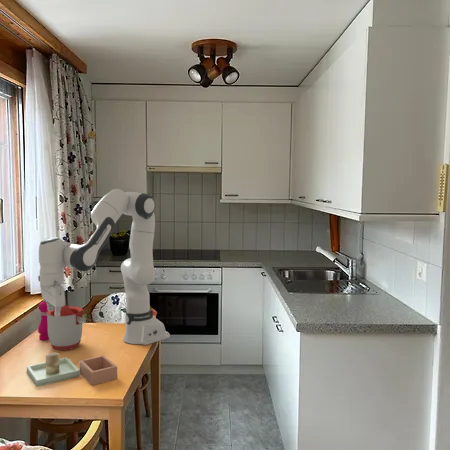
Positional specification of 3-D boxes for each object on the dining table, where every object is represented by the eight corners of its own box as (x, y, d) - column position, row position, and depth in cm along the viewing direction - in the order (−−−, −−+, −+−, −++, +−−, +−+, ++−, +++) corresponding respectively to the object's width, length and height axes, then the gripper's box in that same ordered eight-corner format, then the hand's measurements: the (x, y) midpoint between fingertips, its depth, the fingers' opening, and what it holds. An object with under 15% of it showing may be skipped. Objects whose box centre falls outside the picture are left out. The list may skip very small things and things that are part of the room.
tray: (67, 362, 191) (66, 357, 191) (79, 376, 178) (79, 370, 178) (26, 372, 182) (26, 366, 181) (37, 386, 169) (36, 380, 168)
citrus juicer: (76, 354, 201) (75, 310, 199) (40, 351, 204) (39, 308, 202) (92, 342, 216) (91, 300, 214) (59, 339, 219) (57, 299, 217)
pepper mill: (57, 336, 223) (56, 296, 221) (48, 341, 216) (46, 300, 214) (44, 335, 225) (43, 295, 223) (35, 340, 218) (33, 299, 216)
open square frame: (103, 366, 187) (103, 355, 186) (117, 378, 176) (117, 366, 175) (79, 372, 181) (79, 360, 181) (92, 385, 170) (91, 372, 169)
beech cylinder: (57, 368, 183) (56, 351, 183) (61, 372, 179) (60, 355, 179) (44, 371, 180) (44, 354, 180) (47, 375, 176) (47, 358, 176)
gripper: (68, 282, 172) (70, 318, 173) (52, 273, 188) (54, 306, 189) (51, 285, 168) (53, 321, 169) (36, 275, 184) (38, 308, 186)
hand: (53, 313), depth 180 cm, fingers open, 8 cm apart
